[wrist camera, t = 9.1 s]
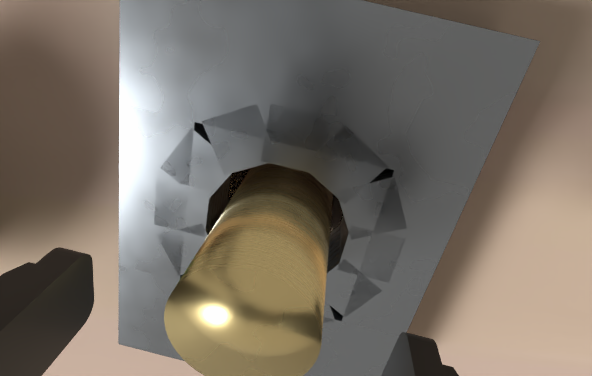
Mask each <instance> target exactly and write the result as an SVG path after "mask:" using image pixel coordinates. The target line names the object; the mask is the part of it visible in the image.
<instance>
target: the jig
mask: <svg viewBox="0 0 592 376" xmlns="http://www.w3.org/2000/svg"><path fill="white" fill-rule="evenodd" d="M539 43H540V41H537V40H532V39H528V38H524V37H519V36H515V35H511V34H506V33H502V32H498V31H493V30H489V29H485V28H480V27H476V26H472V25H467V24H463V23H459V22H454V21H450V20H446V19H441V18H437V17H432V16H428V15H424V14H419V13H415V12H411V11H406V10H402V9H398V8H393V7H389V6H385V5H380V4H376V3H372V2H367V1H363V0H120V72H119V344H121V345H124V346H128V347H132V348H136V349H140V350H144V351H148V352H152V353H156V354H160V355H163V356H167V357H171V358H175V359H179V360H183V359H182V357H181V356H180V355H179V354H178V353H177V351H176V350H175V348H174V347H173V345H172V344H171V342H170V340H169V338H168V335H167V332H166V329H165V323H164V312H165V306H166V303H167V301H168V298H169V296H170V295H171V293H172V291H173V290H174V288H175V287H176V285H177V283H178V282H179V280H180V279H181V277H182V276H183V274H184V272H185V271H186V269H187V268H188V266H189V265H190V263H191V261H192V260H193V258H194V257H195V255H196V254H197V252H198V250H199V249H200V247H201V246H202V244H203V243H204V241H205V239H206V238H207V236H208V235H209V233H210V232H211V230H212V228H213V227H214V225H215V224H216V222H217V221H218V219H219V217H220V216H221V214H222V213H223V211H224V209H225V208H226V206H227V205H228V203H229V202H230V200H229V198H228V192H229V185H230V179H231V174H232V173H234V172H238V171H241V170H245V169H249V168H252V167H256V166H260V165H263V164H267V163H271V164H276V165H280V166H284V167H288V168H292V169H296V170H300V171H305V172H309V173H310V174H311V175H312V176H313V177H315V178H316V179H317V180H318V181H319V182H320V183H321V184H322V185H324V186H325V187H326V188H327V189H328V190H329V191H330V192H331V193H333V194H334V195H335V196H336V197H337V198H338V199H339V202H340V205H341V208H342V212H343V217H342V220H341V224H340V225H338V226H337V227H336V228H335V229H334V230H333V231H331V232H330V239H329V252H328V265H327V278H326V290H325V303H324V316H323V329H322V341H321V349H320V353H319V355H318V358H317V360H316V362H315V363H314V365H313V366H312V367H311V369H310V370H309V371H308V372H307V373H306V374H304V375H303V376H382V373H383V370H384V368H385V366H386V364H387V361H388V359H389V357H390V355H391V353H392V350H393V348H394V346H395V344H396V342H397V339H398V337H399V335H400V334H401V333H402V332H405V333H406V332H407V330H408V328H409V326H410V324H411V321H412V319H413V317H414V315H415V313H416V311H417V308H418V306H419V304H420V302H421V300H422V298H423V295H424V293H425V291H426V289H427V287H428V285H429V282H430V280H431V278H432V276H433V274H434V271H435V269H436V267H437V265H438V263H439V261H440V258H441V256H442V254H443V252H444V250H445V248H446V245H447V243H448V241H449V239H450V237H451V234H452V232H453V230H454V228H455V226H456V224H457V221H458V219H459V217H460V215H461V213H462V211H463V208H464V206H465V204H466V202H467V200H468V197H469V195H470V193H471V191H472V189H473V187H474V184H475V182H476V180H477V178H478V176H479V174H480V171H481V169H482V167H483V165H484V163H485V160H486V158H487V156H488V154H489V152H490V150H491V147H492V145H493V143H494V141H495V139H496V137H497V134H498V132H499V130H500V128H501V126H502V123H503V121H504V119H505V117H506V115H507V113H508V110H509V108H510V106H511V104H512V102H513V100H514V97H515V95H516V93H517V91H518V89H519V86H520V84H521V82H522V80H523V78H524V76H525V73H526V71H527V69H528V67H529V65H530V63H531V60H532V58H533V56H534V54H535V52H536V49H537V47H538V45H539ZM183 361H185V360H183Z"/></svg>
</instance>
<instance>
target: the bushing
mask: <svg viewBox="0 0 592 376" xmlns="http://www.w3.org/2000/svg"><path fill="white" fill-rule="evenodd" d="M332 201H333V193H331V192H330V191H329V190H328V189H327V188H326V187H325V186H324V185H322V184H321V183H320V182H319V181H318V180H317V179H316V178H315V177H313V176H312V175H311V174H310V173H309V172H305V171H300V170H296V169H292V168H288V167H284V166H280V165H276V164H271V163H267V164H263V165H260V166H256V167H252V168H251V169H250V170H249V172H248V173H247V175H246V176H245V178H244V180H243V181H242V183H241V184H240V186H239V187H238V189H237V191H236V192H235V194H234V195H233V197H232V198H231V200H230V202H229V203H228V205H227V206H226V208H225V209H224V211H223V213H222V214H221V216H220V217H219V219H218V221H217V222H216V224H215V225H214V227H213V228H212V230H211V232H210V233H209V235H208V236H207V238H206V239H205V241H204V243H203V244H202V246H201V247H200V249H199V250H198V252H197V254H196V255H195V257H194V258H193V260H192V261H191V263H190V265H189V266H188V268H187V269H186V271H185V272H184V274H183V276H182V277H181V279H180V280H179V282H178V283H177V285H176V287H175V288H174V290H173V291H172V293H171V295H170V296H169V298H168V301H167V303H166V306H165V312H164V323H165V329H166V332H167V335H168V338H169V340H170V342H171V344H172V345H173V347H174V348H175V350H176V351H177V353H178V354H179V355H180V356H181V357H182V359H183V360H185V361H186V362H187V363H188V364H189V365H190V366H191V367H193V368H194V369H195V370H196V371H198V372H200V373H201V374H203V375H204V376H303V375H304V374H306V373H307V372H308V371H309V370H310V369H311V367H312V366H313V365H314V363H315V362H316V360H317V358H318V355H319V353H320V349H321V341H322V329H323V316H324V303H325V290H326V278H327V265H328V252H329V239H330V227H331V214H332Z"/></svg>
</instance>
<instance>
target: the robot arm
mask: <svg viewBox="0 0 592 376" xmlns="http://www.w3.org/2000/svg"><path fill="white" fill-rule="evenodd" d="M93 304H94V287H93V264H92V258H91V256H90V255H89V254H85V253H81V252H77V251H73V250H68V249H64V248H55V249H53V250H52V251H50V252H49V253H48V254H47V255H46V256H44V257H43V258H42V259H41V260H39V261H38V262H37V263H36V264H33V263H29V262H28V263H26V264H24V265H22V266H19V267H17V268H15V269H13V270H10V271H8V272H6V273H4V274H2V275H1V276H0V376H42V375H43V373H44V372H45V371H46V370H47V369H48V367H49V366H50V365H51V364H52V363H53V361H54V360H55V359H56V358H57V357H58V355H59V354H60V353H61V352H62V351H63V349H64V348H65V347H66V346H67V345H68V343H69V342H70V341H71V340H72V338H73V337H74V336H75V335H76V334H77V332H78V331H79V330H80V329H81V328H82V326H83V325H84V324H85V322H86V321H87V319H88V317H89V315H90V313H91V311H92V308H93ZM382 376H459V375H458V374H457V372H456V371H455V369H454V368H453V367H450V366H446V365H442V362H441V359H440V355H439V352H438V348H437V345H436V343H435V341H434V340H433V339H430V338H426V337H422V336H417V335H413V334H409V333H405V332H402V333H401V334H400V335H399V337H398V339H397V342H396V344H395V346H394V348H393V350H392V353H391V355H390V357H389V359H388V361H387V364H386V366H385V368H384V370H383V373H382Z"/></svg>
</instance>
